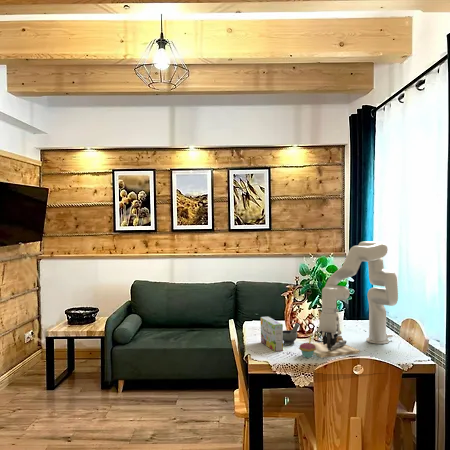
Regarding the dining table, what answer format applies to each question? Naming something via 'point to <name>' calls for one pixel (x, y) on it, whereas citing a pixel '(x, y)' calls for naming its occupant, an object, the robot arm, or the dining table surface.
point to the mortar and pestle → (290, 335)
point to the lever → (340, 343)
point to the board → (342, 350)
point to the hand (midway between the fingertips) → (329, 344)
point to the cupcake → (307, 348)
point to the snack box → (272, 333)
